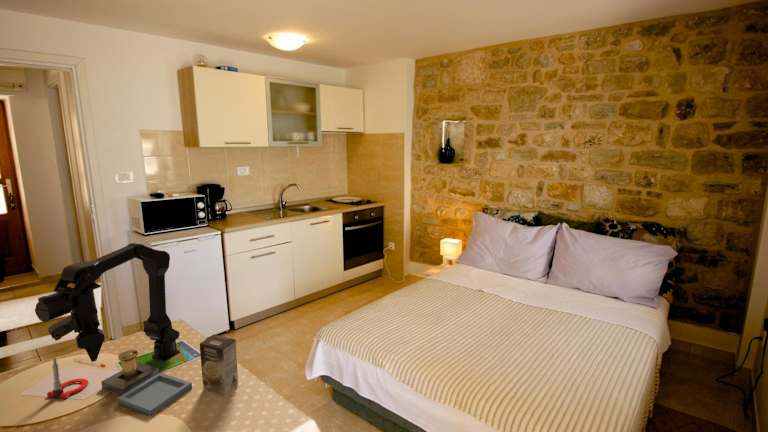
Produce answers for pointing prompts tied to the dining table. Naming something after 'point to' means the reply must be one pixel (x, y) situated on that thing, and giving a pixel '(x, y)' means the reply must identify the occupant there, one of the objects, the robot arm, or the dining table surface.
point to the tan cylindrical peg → (129, 364)
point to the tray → (154, 394)
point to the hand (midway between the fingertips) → (92, 354)
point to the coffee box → (219, 364)
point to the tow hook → (58, 386)
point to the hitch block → (123, 386)
